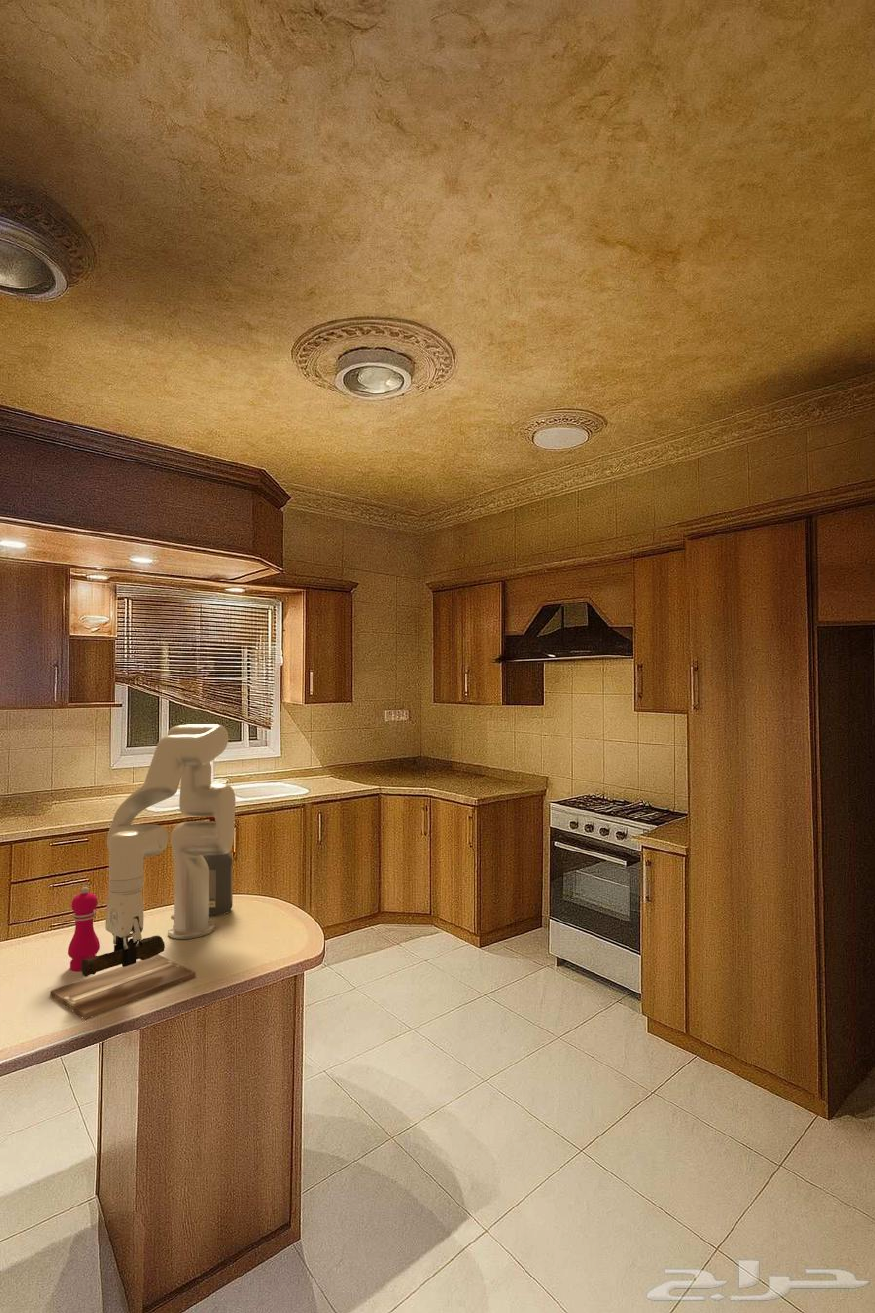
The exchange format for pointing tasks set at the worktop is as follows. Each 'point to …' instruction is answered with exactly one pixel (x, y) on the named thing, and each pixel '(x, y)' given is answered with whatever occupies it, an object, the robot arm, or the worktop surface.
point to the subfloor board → (121, 985)
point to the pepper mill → (83, 929)
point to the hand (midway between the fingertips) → (125, 962)
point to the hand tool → (105, 961)
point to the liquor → (220, 882)
